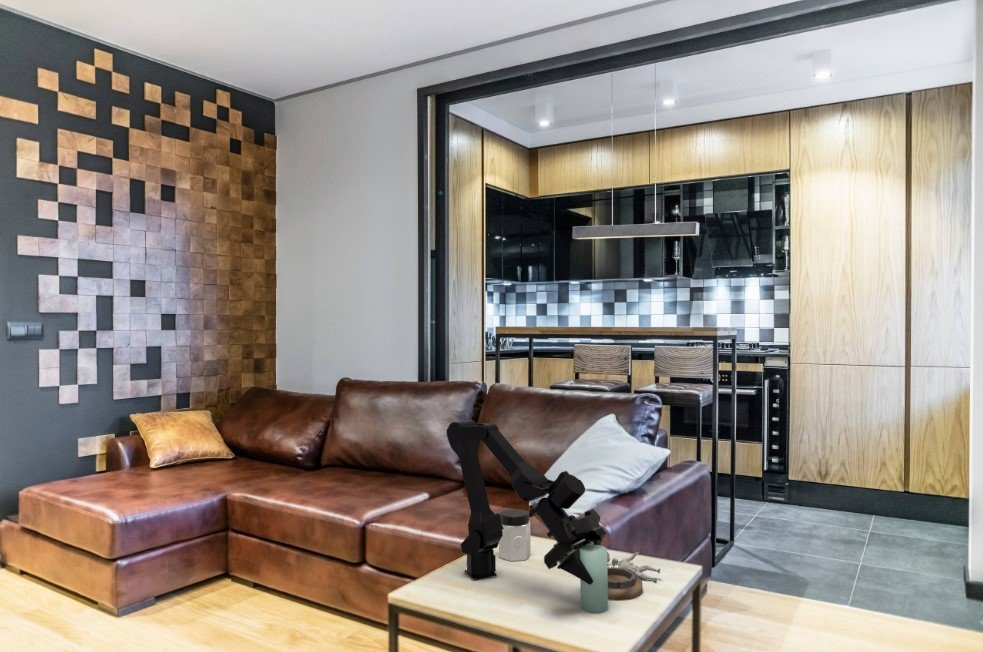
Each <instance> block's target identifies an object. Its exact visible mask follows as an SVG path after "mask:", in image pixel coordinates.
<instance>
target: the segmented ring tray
mask: <svg viewBox="0 0 983 652" xmlns="http://www.w3.org/2000/svg"><path fill="white" fill-rule="evenodd" d="M607 571H608V601H628V600H634V599H636V598H638V597H640V596H641V595H642V594H643V592H642V591H643V581H642V578H638V577H637V575H636V573H634V572H632V571H630V570H628V569H626V570H625V569H624V568H618V567H615V566H614V567H613V566H611V567H609V566H607Z"/></svg>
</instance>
